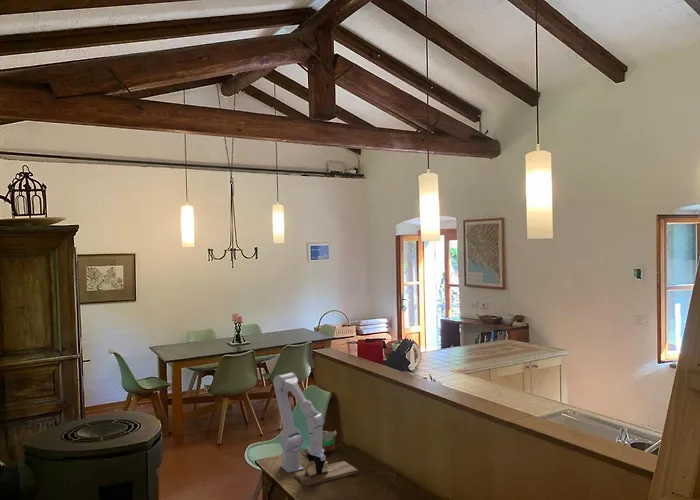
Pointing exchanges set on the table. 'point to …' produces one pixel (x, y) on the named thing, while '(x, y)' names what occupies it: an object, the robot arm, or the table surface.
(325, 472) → the block
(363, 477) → the table surface
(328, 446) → the food container
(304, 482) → the walnut board
